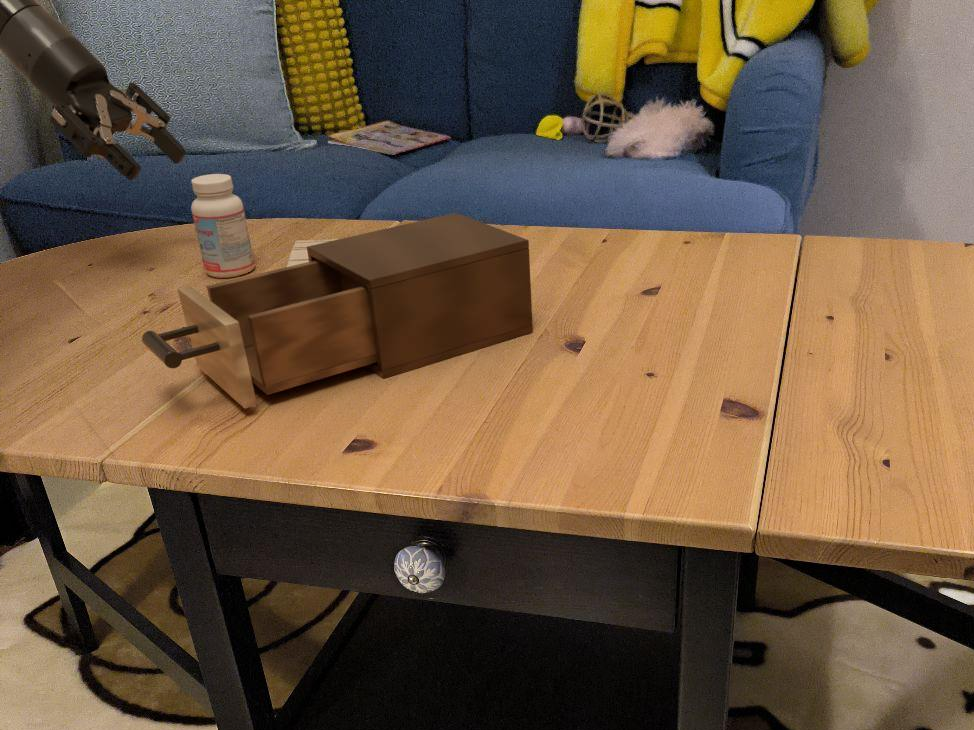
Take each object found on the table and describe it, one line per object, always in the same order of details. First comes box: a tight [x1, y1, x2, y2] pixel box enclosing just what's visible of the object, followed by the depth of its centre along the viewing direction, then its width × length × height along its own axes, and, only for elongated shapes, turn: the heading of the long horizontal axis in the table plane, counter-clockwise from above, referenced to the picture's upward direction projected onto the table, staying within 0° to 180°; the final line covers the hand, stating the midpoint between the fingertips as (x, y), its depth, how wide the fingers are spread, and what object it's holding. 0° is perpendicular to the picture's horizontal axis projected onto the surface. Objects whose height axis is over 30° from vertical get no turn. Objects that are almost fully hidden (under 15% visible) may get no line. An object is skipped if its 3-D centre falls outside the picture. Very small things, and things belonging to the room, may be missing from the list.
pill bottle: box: [190, 173, 256, 279], centre depth 118 cm, size 6×6×11 cm
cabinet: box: [307, 212, 534, 379], centre depth 98 cm, size 18×14×10 cm
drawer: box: [141, 260, 378, 409], centre depth 90 cm, size 22×12×8 cm, turn 126°
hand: (159, 166), depth 116 cm, fingers open, 8 cm apart
